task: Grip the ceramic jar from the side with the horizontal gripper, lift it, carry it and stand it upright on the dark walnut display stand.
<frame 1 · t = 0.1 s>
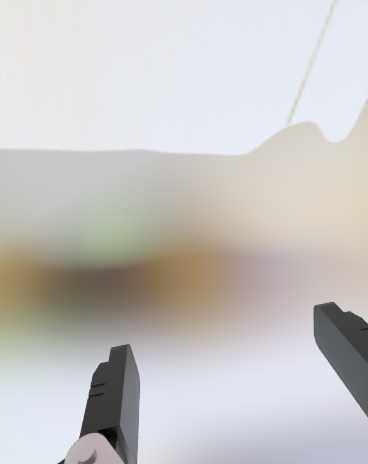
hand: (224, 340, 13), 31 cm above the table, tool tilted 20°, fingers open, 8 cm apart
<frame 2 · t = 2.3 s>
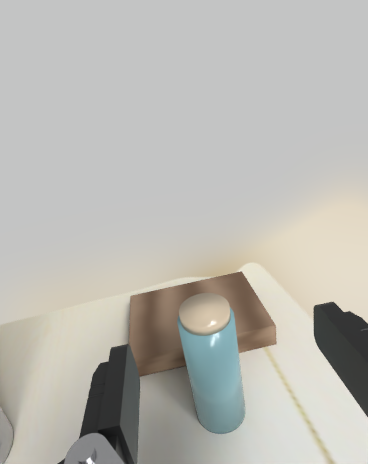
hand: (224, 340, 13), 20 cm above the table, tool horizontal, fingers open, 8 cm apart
stand: (196, 325, 43), on the table
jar: (220, 409, 31), on the table
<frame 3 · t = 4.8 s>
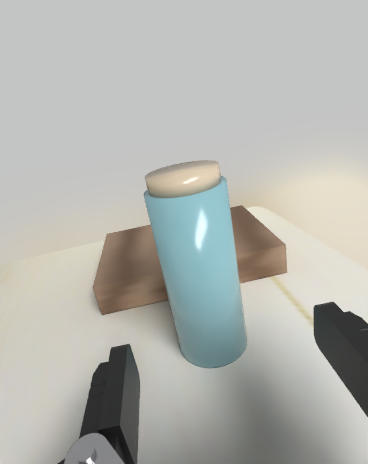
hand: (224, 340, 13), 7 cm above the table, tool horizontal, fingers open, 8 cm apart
stand: (186, 262, 35), on the table
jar: (213, 340, 23), on the table
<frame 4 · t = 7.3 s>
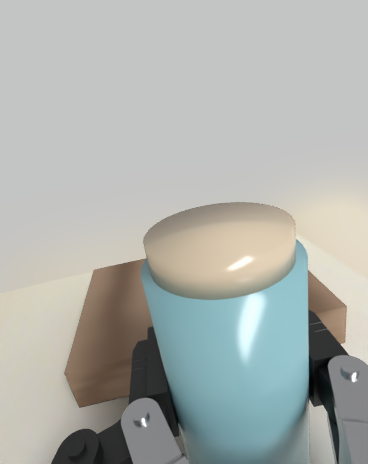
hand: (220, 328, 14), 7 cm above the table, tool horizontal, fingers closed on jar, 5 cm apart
stand: (198, 313, 26), on the table
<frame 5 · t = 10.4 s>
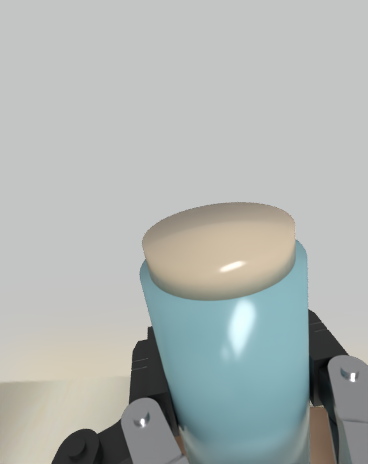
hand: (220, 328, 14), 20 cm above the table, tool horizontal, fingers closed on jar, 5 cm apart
when the fingers open (11 cm above the table, at t = 13.5 s): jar stays where it is, resting on stand.
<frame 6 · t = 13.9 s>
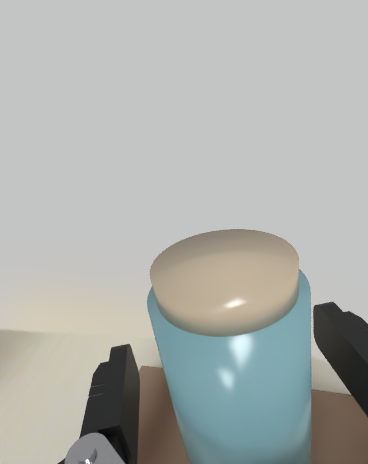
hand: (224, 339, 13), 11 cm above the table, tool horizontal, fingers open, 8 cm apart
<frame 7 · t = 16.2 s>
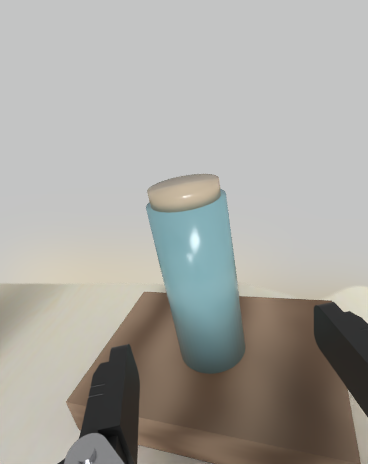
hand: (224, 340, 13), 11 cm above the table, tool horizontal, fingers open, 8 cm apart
stand: (217, 374, 25), on the table
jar: (212, 346, 23), point 3 cm above the table, touching stand
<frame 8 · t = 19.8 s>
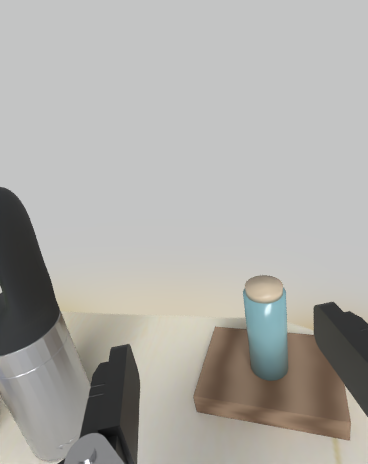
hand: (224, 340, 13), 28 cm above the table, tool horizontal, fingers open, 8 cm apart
stand: (270, 380, 43), on the table
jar: (269, 365, 41), point 3 cm above the table, touching stand
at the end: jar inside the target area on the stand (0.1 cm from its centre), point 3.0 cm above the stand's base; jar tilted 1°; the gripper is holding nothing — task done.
